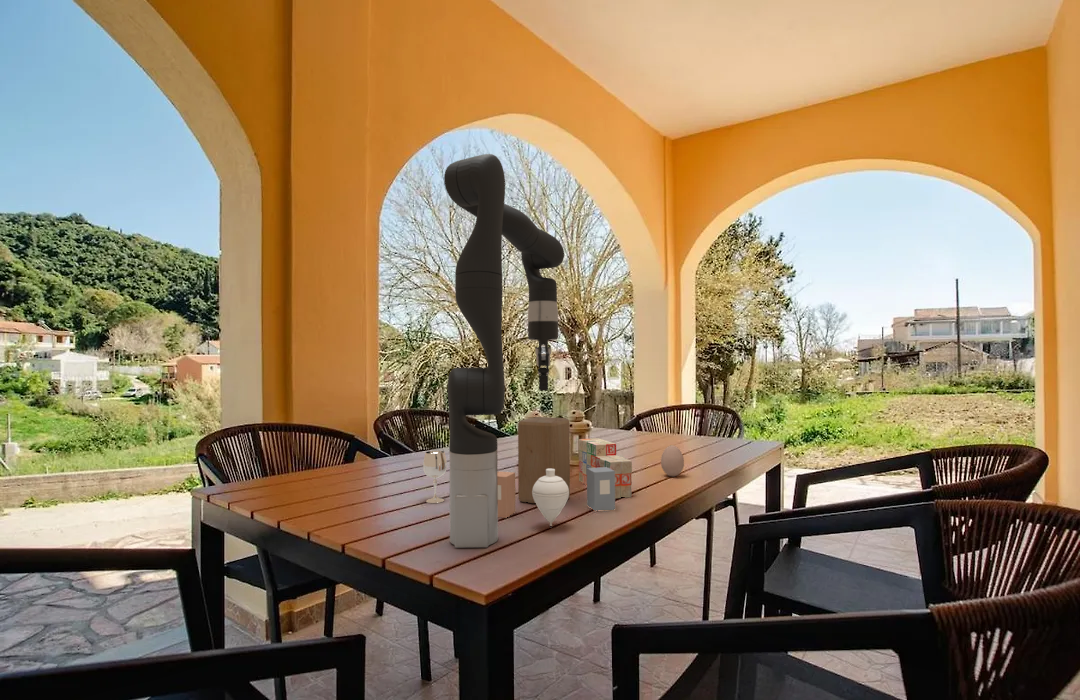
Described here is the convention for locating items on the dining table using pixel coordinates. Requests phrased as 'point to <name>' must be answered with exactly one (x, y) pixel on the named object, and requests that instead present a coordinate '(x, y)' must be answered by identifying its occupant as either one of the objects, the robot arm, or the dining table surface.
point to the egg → (672, 461)
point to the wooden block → (542, 452)
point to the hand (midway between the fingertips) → (543, 390)
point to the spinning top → (550, 495)
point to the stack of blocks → (605, 463)
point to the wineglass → (435, 469)
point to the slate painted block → (601, 488)
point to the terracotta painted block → (506, 493)
